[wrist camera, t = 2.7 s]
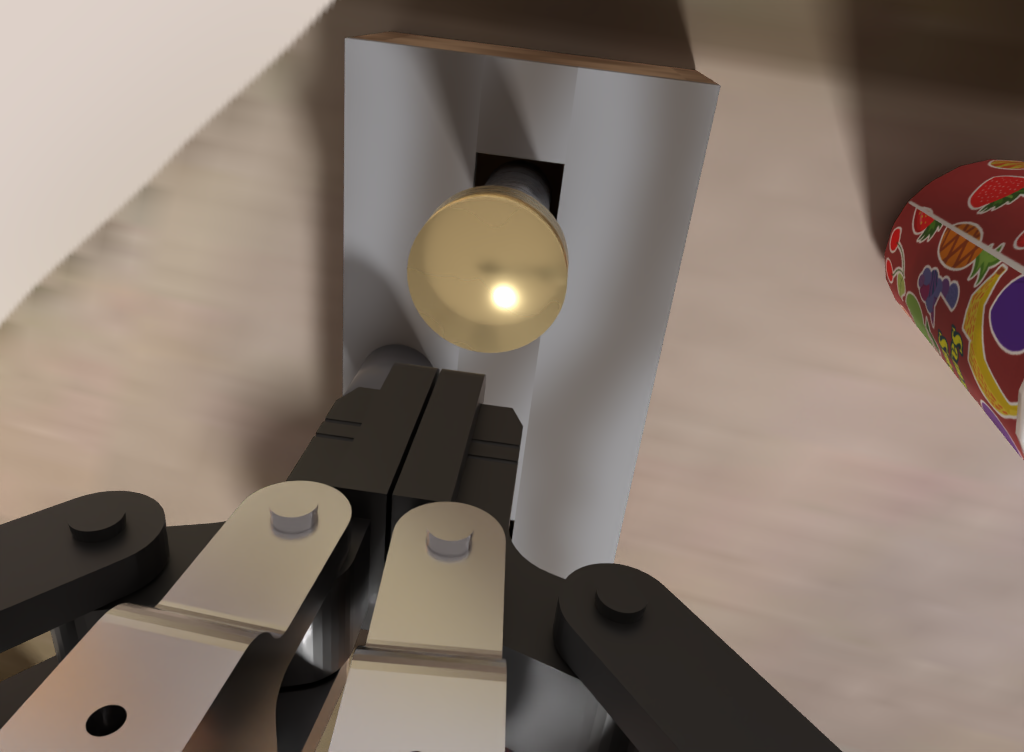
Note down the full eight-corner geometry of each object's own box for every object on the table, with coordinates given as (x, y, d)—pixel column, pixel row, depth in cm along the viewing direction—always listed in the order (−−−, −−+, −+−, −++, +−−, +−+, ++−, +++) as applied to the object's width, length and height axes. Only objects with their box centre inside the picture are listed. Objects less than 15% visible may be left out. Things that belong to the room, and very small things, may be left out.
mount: (696, 70, 29) (720, 85, 23) (595, 552, 40) (596, 637, 34) (390, 31, 29) (344, 37, 24) (374, 519, 40) (341, 598, 35)
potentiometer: (439, 350, 28) (417, 399, 25) (434, 417, 30) (413, 473, 26) (362, 339, 28) (329, 387, 25) (360, 406, 30) (329, 461, 26)
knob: (582, 144, 26) (578, 211, 17) (565, 255, 27) (555, 362, 19) (467, 129, 26) (410, 188, 18) (458, 240, 28) (403, 341, 19)
